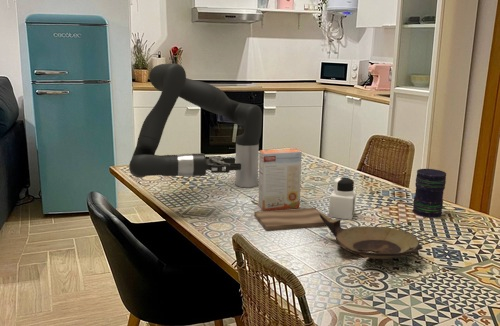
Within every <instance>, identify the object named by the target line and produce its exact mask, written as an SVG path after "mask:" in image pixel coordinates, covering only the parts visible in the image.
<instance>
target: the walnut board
mask: <svg viewBox="0 0 500 326" xmlns="http://www.w3.org/2000/svg"><path fill="white" fill-rule="evenodd" d="M321 213H322V212H321V211H320V210H319V209H317V208H316V207H308V208H305V207H304V208H294V209H281V210H268V211H263V210H261V211H260V210H259V211H254V213H253V216H254V217H255V219H256V220H257V221H258V222H259V224H260V225H261V227H263V229H264V230H265V231H266V232H270V231H284V230H297V229H307V228H308V229H309V228H322V227H327V225H326V224H325V223H324V222H323V220H322V219H321V217H320V214H321Z"/></svg>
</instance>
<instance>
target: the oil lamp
mask: <svg viewBox="0 0 500 326" xmlns="http://www.w3.org/2000/svg"><path fill="white" fill-rule="evenodd" d="M320 217H321V219H322V220H323V222H324V223H325V224H326V225H327V226H326V227H327V228H328V229H329V231H330V232H331V233H332V234H333V235H332V236H334V237H335V241H336V243H337V245H338V246H340V247H341V248H342V249H344V250H346V251H349V252H350V253H353V254H356V255H359V256H361V257H363V258H367V259H375V260H389V259H396V258H401V257H405V256H409V255H414V254H418V253H419V251H421V250H423V248H424V247H423V245H421V244H420V241H419V239H418V237H416V236H415V235H414V234H411V233H409V232H406V231H404V230H401V229H396V228H392V227H385V226H356V227H355V226H353V227H349V228H343V227H341V219H332V217H329V216H327V215H326V214H325V213H322V212H321V214H320Z"/></svg>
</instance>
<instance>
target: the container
mask: <svg viewBox="0 0 500 326" xmlns="http://www.w3.org/2000/svg"><path fill="white" fill-rule="evenodd" d="M354 184H355V181H354V180H353V179H352V178H349V177H345V176H342V177H341V176H340V177H337V178H335V179H334V181H333V191H332V192H331V194H330V196H329V206H328V207H329V208H328V217H329V218H335V219H340V220H342V219H344V220H349V221H351V220H353V216H354V215H355V211H356V210H355V209H356V197H357V192H356V191H354V186H355V185H354Z"/></svg>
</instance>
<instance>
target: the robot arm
mask: <svg viewBox="0 0 500 326" xmlns="http://www.w3.org/2000/svg"><path fill="white" fill-rule="evenodd" d="M149 82H150V84H151V86H152V87H154V89H156V90H157V91H159V92H161V93H160V96H159V98H158V99H157V102H156V103H155V105H154V106H153V107H152V108H151V111H150V112H148V114H147V115H146V117H145V119H144V121H142V122H143V123H142V125H141V128H140V131H139V134H138V138H137V142H136V146H135V149H134V151H133V153H132V157H131V160H130V161H129V165H128V169H129V172H130V174H131V175H132V176H133V177H135V178H137V179H138V178H139V179H141V178H145V177H147V176H148V177H149V176H151V177H152V176H162V177H204V176H206V173H207V171H210V172H211V174H221V173H223V174H224V173H226V174H228V173H230V172H231V171H235V181H234V182H235V186H237V187H240V188H254V187H258V186H259V151H260V150H259V149H260V147H259V146H260V139H261V136H262V125H263V112H262V109H261V107H260V105H259V106H258V105H256V104H252V103H243V102H239V101H236V100H233V99H231V98H229V97H228V96H227V94H226V93H225V91H224V90H222V89H220V88H219V87H217V86H214V85H212V84H211V83H208V82H205V81H200V80H196V79H190V78H187V74H186V70H185V68H184V67H183V66H182V65H181V64H179V63H173V62H172V63H160V64H158V65H155V66H153V67H152V68H151V70H150V71H149ZM179 98H181V99H183V100H184V101H186V102H189V103H190V104H192V105H195V106H197V107H199V108H201V109H203V110H205V111H207V112H210V113H213V114H215V115H219V116H221V117H224V118H226V119H228V120H229V121H230V122H232V123H234V125H237V126H240V127H244V132H243V133H242V134H240V135H237V136H236V138H235V139H236V140H235V157H224V156H221V155H216V156H215V155H211V156H208V155H207V156H206V155H205V153H181V154H164V155H159V154H155V153H156V151H157V149H158V148H159V145H160V142H161V139H162V136H163V133H164V129H165V126H166V125H167V122H168V119H169V117H170V115H171V113H172V111H173V109H174V107H175V105H176V102H177V100H178V99H179Z"/></svg>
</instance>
